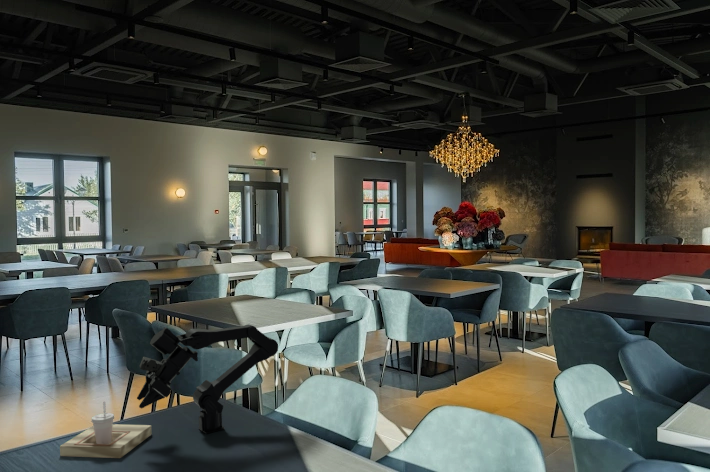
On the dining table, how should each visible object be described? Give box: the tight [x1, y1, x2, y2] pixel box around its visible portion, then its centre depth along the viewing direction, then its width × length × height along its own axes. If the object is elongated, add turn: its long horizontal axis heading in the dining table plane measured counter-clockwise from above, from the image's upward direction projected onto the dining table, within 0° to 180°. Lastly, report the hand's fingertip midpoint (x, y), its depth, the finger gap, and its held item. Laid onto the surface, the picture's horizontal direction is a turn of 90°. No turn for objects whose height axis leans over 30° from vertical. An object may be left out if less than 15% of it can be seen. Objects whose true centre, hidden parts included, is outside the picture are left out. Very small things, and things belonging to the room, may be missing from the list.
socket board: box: [59, 423, 153, 459], centre depth 181 cm, size 19×19×3 cm
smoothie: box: [91, 401, 115, 444], centre depth 178 cm, size 6×6×14 cm
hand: (139, 403), depth 182 cm, fingers open, 9 cm apart
